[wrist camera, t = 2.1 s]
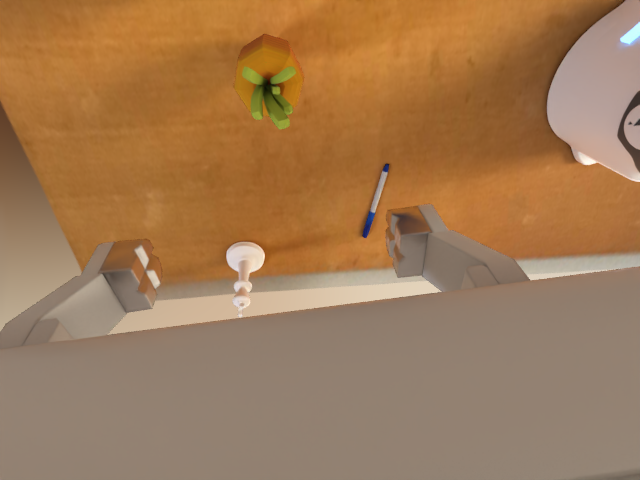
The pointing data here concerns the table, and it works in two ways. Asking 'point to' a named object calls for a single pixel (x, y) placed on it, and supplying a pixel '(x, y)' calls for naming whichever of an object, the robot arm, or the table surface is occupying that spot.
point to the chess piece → (244, 269)
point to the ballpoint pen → (375, 201)
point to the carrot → (269, 79)
